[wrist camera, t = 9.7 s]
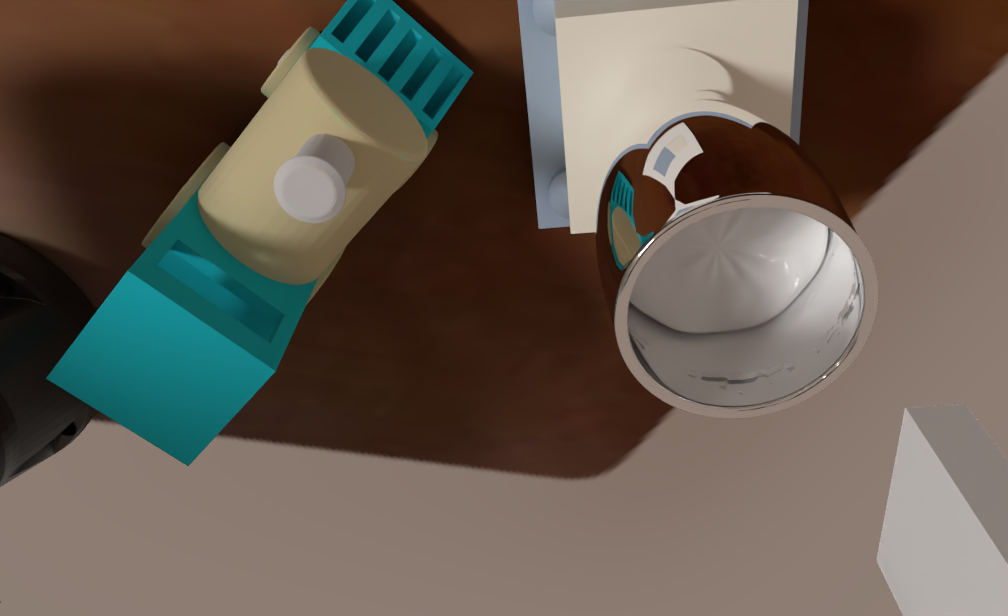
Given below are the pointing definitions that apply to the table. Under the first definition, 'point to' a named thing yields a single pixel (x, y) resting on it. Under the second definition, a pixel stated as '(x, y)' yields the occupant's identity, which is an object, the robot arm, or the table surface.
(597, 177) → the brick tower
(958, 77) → the table surface
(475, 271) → the table surface
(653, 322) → the beer glass
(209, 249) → the toy train
